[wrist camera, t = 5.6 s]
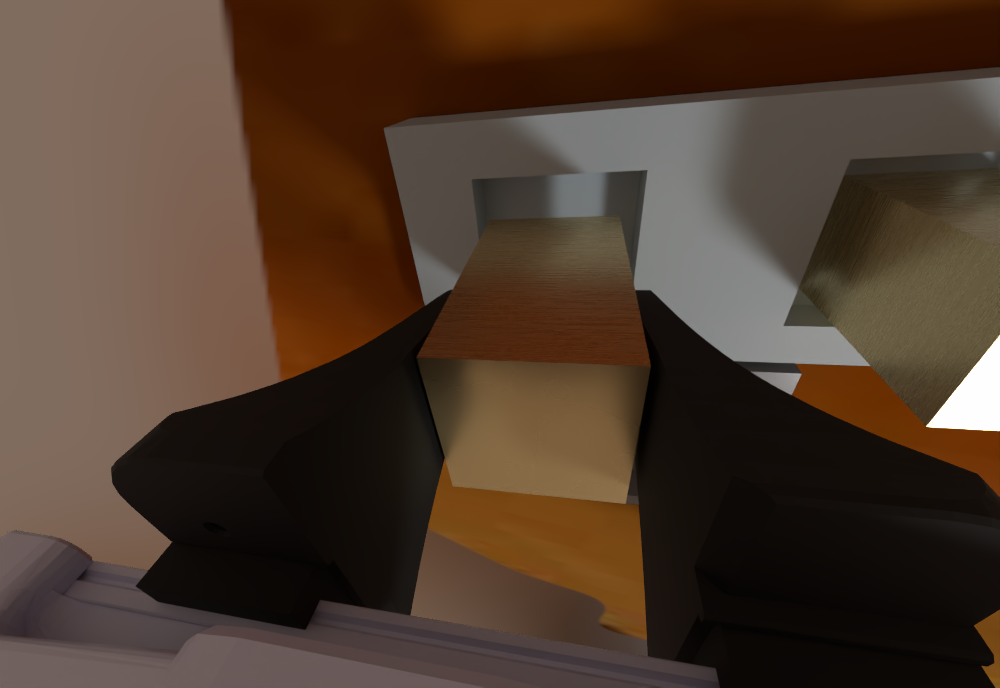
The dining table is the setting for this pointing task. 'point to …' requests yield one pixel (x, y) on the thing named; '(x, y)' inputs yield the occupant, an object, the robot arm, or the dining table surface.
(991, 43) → the dining table surface
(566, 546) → the dining table surface
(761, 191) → the grey pocketed tray
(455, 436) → the block
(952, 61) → the dining table surface
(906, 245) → the block
